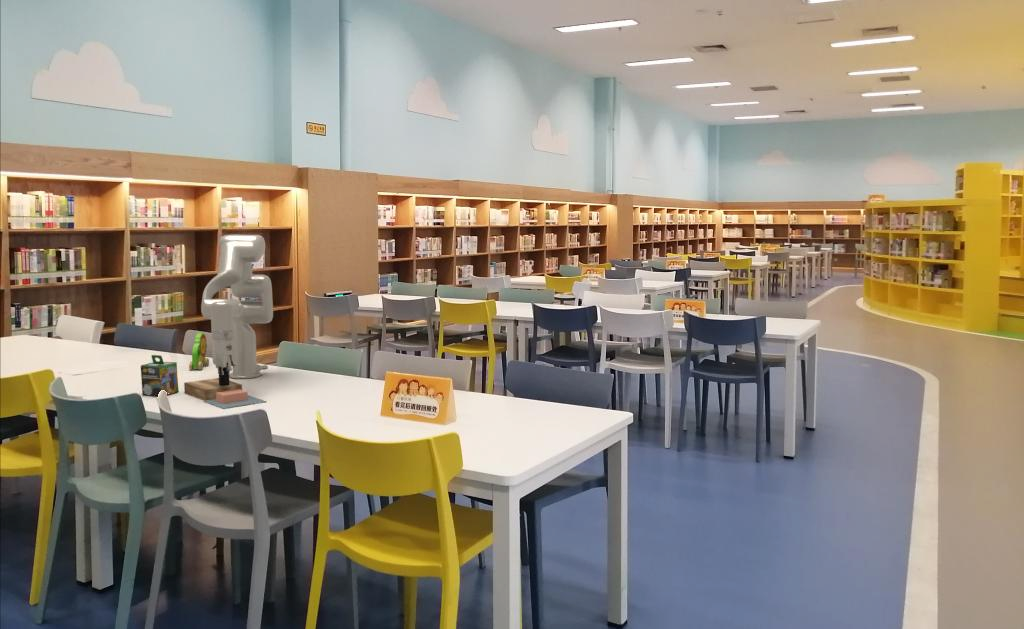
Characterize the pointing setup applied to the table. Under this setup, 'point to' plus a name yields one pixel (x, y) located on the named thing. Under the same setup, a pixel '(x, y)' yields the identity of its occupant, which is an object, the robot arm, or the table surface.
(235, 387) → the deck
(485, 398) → the table surface
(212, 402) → the mat
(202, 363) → the toy lion
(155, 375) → the green printed box
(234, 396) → the salmon pink block
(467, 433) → the table surface
